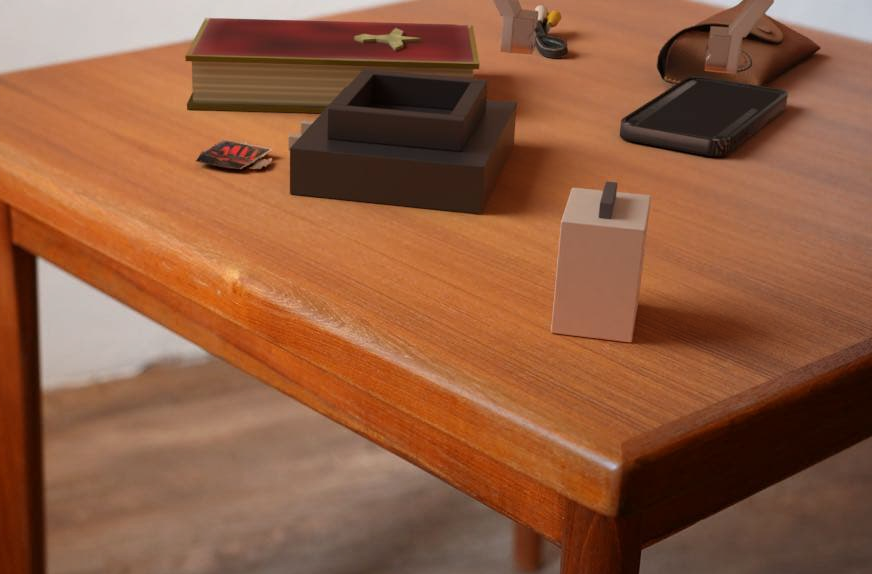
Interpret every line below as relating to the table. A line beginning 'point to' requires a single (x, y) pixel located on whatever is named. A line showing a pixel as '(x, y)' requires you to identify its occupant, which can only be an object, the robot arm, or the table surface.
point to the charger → (600, 263)
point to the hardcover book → (314, 59)
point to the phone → (704, 116)
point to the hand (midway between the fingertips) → (617, 60)
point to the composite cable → (545, 42)
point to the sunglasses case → (759, 57)
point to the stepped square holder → (405, 143)
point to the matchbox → (235, 155)
